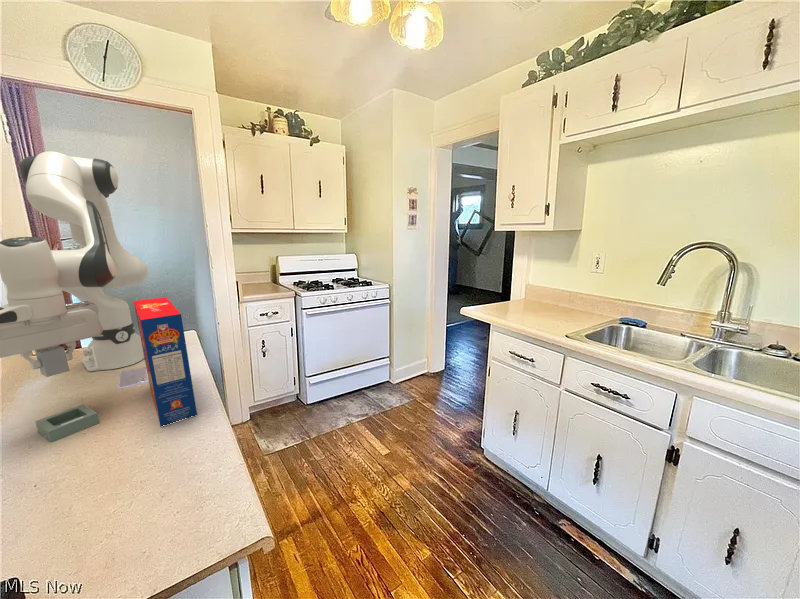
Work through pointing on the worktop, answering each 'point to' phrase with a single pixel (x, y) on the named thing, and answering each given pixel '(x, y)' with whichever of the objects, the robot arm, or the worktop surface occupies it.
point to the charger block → (52, 360)
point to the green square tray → (67, 422)
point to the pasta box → (166, 359)
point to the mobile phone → (133, 377)
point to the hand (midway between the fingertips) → (53, 364)
